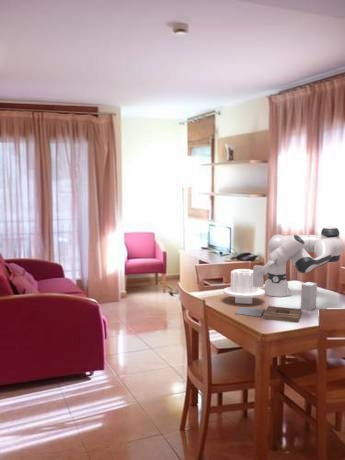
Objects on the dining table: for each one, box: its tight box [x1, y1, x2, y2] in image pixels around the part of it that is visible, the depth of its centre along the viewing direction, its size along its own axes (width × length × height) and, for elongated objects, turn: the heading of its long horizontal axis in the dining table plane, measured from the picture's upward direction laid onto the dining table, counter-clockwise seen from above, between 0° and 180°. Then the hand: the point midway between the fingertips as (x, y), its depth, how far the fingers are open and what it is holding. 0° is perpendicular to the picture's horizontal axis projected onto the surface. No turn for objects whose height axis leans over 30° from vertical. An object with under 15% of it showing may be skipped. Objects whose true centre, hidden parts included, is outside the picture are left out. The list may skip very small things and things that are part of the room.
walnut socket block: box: [262, 305, 302, 324], centre depth 236 cm, size 18×18×2 cm
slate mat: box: [234, 306, 266, 318], centre depth 244 cm, size 14×14×1 cm
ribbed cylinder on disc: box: [223, 268, 266, 305], centre depth 266 cm, size 25×25×19 cm
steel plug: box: [252, 264, 265, 288], centre depth 239 cm, size 5×5×11 cm
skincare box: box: [300, 281, 318, 312], centre depth 251 cm, size 8×6×15 cm
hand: (259, 275), depth 239 cm, fingers closed on steel plug, 5 cm apart
